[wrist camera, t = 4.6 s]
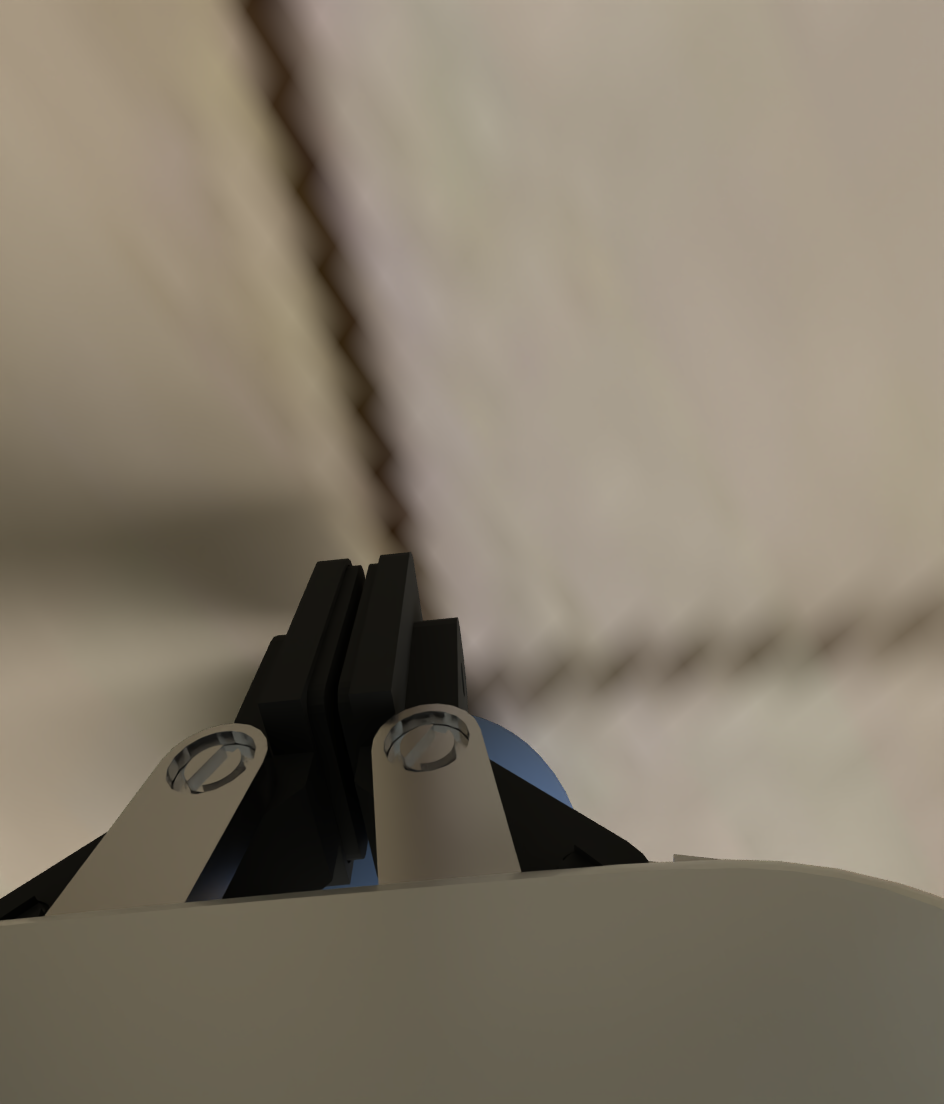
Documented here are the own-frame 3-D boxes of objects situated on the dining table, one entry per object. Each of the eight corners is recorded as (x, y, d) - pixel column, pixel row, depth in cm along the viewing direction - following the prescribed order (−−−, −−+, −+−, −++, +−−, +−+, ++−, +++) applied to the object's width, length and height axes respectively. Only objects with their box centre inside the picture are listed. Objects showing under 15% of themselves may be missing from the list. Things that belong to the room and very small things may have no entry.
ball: (202, 1073, 9) (318, 1041, 14) (628, 1054, 9) (593, 1027, 14) (262, 677, 12) (339, 763, 17) (572, 654, 12) (560, 749, 17)
